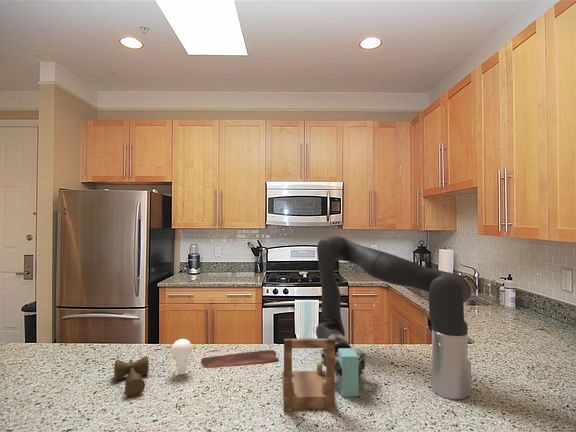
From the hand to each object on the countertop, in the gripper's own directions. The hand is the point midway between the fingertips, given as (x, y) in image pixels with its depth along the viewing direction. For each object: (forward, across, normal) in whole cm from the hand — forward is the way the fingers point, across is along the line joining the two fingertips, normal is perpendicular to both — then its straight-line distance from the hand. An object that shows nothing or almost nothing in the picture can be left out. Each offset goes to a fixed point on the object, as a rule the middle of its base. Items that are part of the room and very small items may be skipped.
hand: (350, 372), depth 94 cm
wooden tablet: (-26, -33, +7) cm, 43 cm away
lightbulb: (-15, -50, +7) cm, 53 cm away
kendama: (-11, -64, +7) cm, 65 cm away
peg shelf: (-2, -12, +7) cm, 14 cm away
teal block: (-3, 0, +6) cm, 7 cm away
